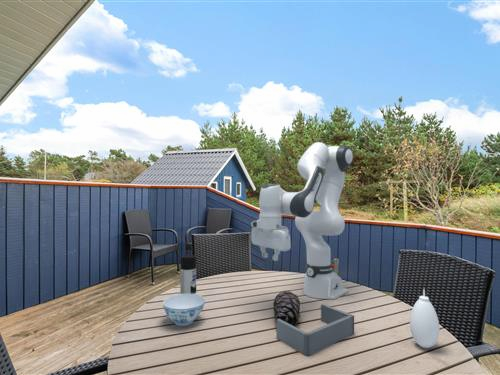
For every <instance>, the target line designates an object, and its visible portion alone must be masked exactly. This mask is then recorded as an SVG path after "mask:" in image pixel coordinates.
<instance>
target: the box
mask: <svg viewBox="0 0 500 375" xmlns="http://www.w3.org/2000/svg"><path fill="white" fill-rule="evenodd" d="M320 322H322V323H325V325H322V326H320V327H317V328H316V329H312V330H310V331H308V332H306V331H304V330H303V329H300V328H298V327H296V326H295V327H294V326H292V325H290V324H289V323H287V322H285V321H283V320H281V319H277V324H276V339H277V340H279V341H281V342H282V343H284V344H285V345H287V346H289V347H290V348H292V349H294V350H296V351H297V352H299V353H300V354H302V355H304V356H306V357H309V356H311V355H313V354H315V353H318V352H319V351H322V350H324V349H325V348H328V347H329V346H332V345H333V344H337V343H338V342H340V341H342V340H344V339H346V338H348V337H350V336H353V335H354V334H355V315H353V314H351V313H347V312H346V311H344V310H343V311H342V310H340V309H338V308H336V307H333V306H329V305H327V304H325V303H322V304H320Z"/></svg>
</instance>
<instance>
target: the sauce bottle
mask: <svg viewBox="0 0 500 375" xmlns="http://www.w3.org/2000/svg"><path fill="white" fill-rule="evenodd" d="M422 291H423V292H422V295H419V297H418V298H419V299H418V300H417V301H416V302H415V303H414V305H413V307H412V309H411V313H410V318H409V329H410V332H411V335H412V338H413V340H414V341H415V343H417V345H418V346H420V347H422V348H423V349H430V348H431V347H434V346H435V345H436V343H437V342H438V340H439V336H440V322H439V317H438V315H437V312H436V309H435V307H434V305H433V304H432V302H431V301H430V298H429V297H428V296H426V291H425V288H423V290H422Z"/></svg>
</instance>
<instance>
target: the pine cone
mask: <svg viewBox="0 0 500 375" xmlns="http://www.w3.org/2000/svg"><path fill="white" fill-rule="evenodd" d="M272 305H273V313H274V314H273V315H274V319H275V324H276V325H277V319H281V320H283V321H285V322H287V323H289V324H290V325H292V326H294V327H296V326H297V324H298V322H299V320H298V319H299V317H300V314H301V312H300V310H301V301H300V299H299V297H298V296H297V294H295V293H293V292H291V291H289V290H288V291H287V290H285V291H280V292H279V293H278V294H276V295H275V297H274V301H273V304H272Z"/></svg>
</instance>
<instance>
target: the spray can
mask: <svg viewBox="0 0 500 375" xmlns="http://www.w3.org/2000/svg"><path fill="white" fill-rule="evenodd" d="M179 266H180V269H179V270H180V273H179V274H180V276H179V277H180V290H179V292H180V293H179V294H197V255H192V254H184V255H181V256H180V265H179Z"/></svg>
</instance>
